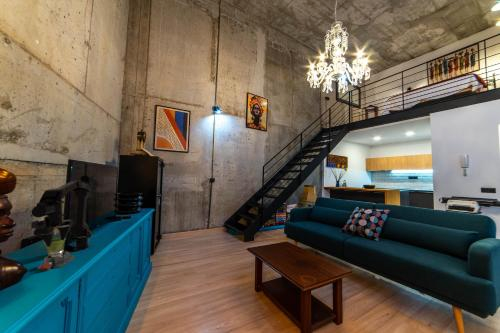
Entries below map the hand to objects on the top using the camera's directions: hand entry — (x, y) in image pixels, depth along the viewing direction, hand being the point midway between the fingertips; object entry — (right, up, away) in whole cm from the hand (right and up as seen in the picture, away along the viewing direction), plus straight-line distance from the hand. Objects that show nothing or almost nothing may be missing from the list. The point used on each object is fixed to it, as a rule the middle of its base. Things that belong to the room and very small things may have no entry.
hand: (56, 243), depth 103 cm
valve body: (+1, -11, 0) cm, 11 cm away
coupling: (+1, -9, 0) cm, 9 cm away
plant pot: (-12, -12, +12) cm, 21 cm away
